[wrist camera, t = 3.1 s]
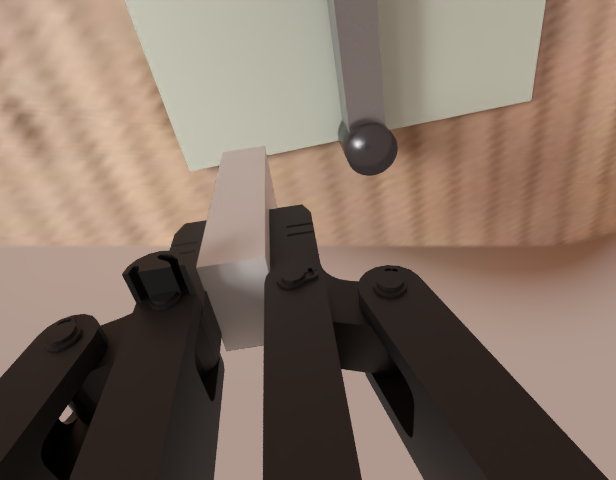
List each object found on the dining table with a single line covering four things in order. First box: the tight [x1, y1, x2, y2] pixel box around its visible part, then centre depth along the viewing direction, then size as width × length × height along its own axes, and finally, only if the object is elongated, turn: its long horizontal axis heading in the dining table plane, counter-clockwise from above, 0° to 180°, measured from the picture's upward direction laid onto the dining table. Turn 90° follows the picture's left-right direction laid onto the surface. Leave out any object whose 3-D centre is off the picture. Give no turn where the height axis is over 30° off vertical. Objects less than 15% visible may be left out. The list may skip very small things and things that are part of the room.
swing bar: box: [327, 0, 397, 176], centre depth 20 cm, size 13×3×4 cm, turn 10°
